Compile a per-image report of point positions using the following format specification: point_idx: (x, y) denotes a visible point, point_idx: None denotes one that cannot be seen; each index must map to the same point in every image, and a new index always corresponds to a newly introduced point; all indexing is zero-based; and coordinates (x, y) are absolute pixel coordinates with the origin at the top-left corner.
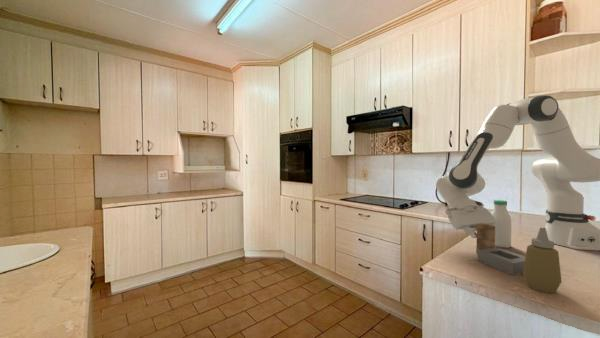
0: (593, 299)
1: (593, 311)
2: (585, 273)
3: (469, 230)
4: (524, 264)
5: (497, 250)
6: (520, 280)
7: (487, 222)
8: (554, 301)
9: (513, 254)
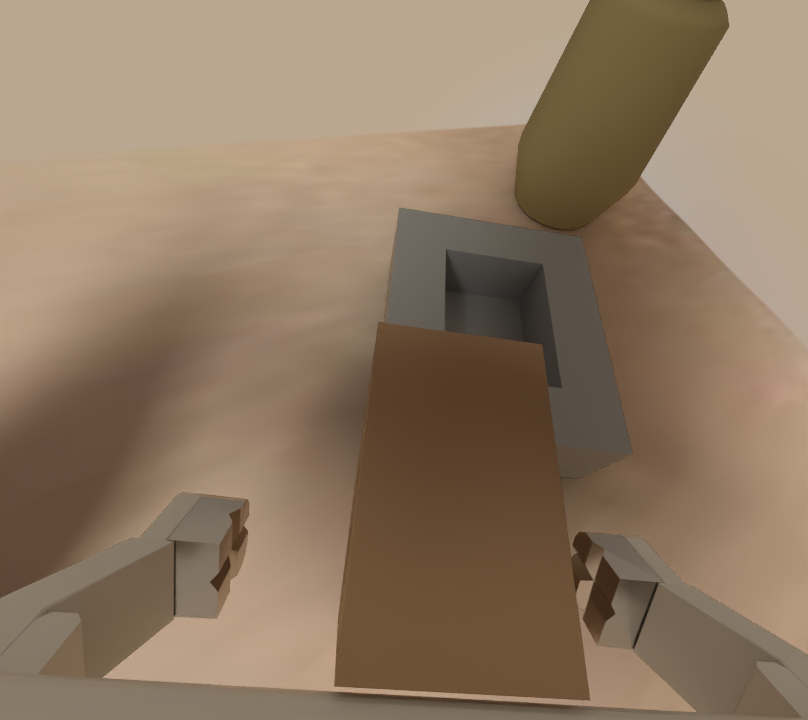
0: (462, 129)
1: None
2: (181, 163)
3: (755, 639)
4: (651, 151)
5: None
6: None
7: (42, 688)
8: None
9: (430, 288)
